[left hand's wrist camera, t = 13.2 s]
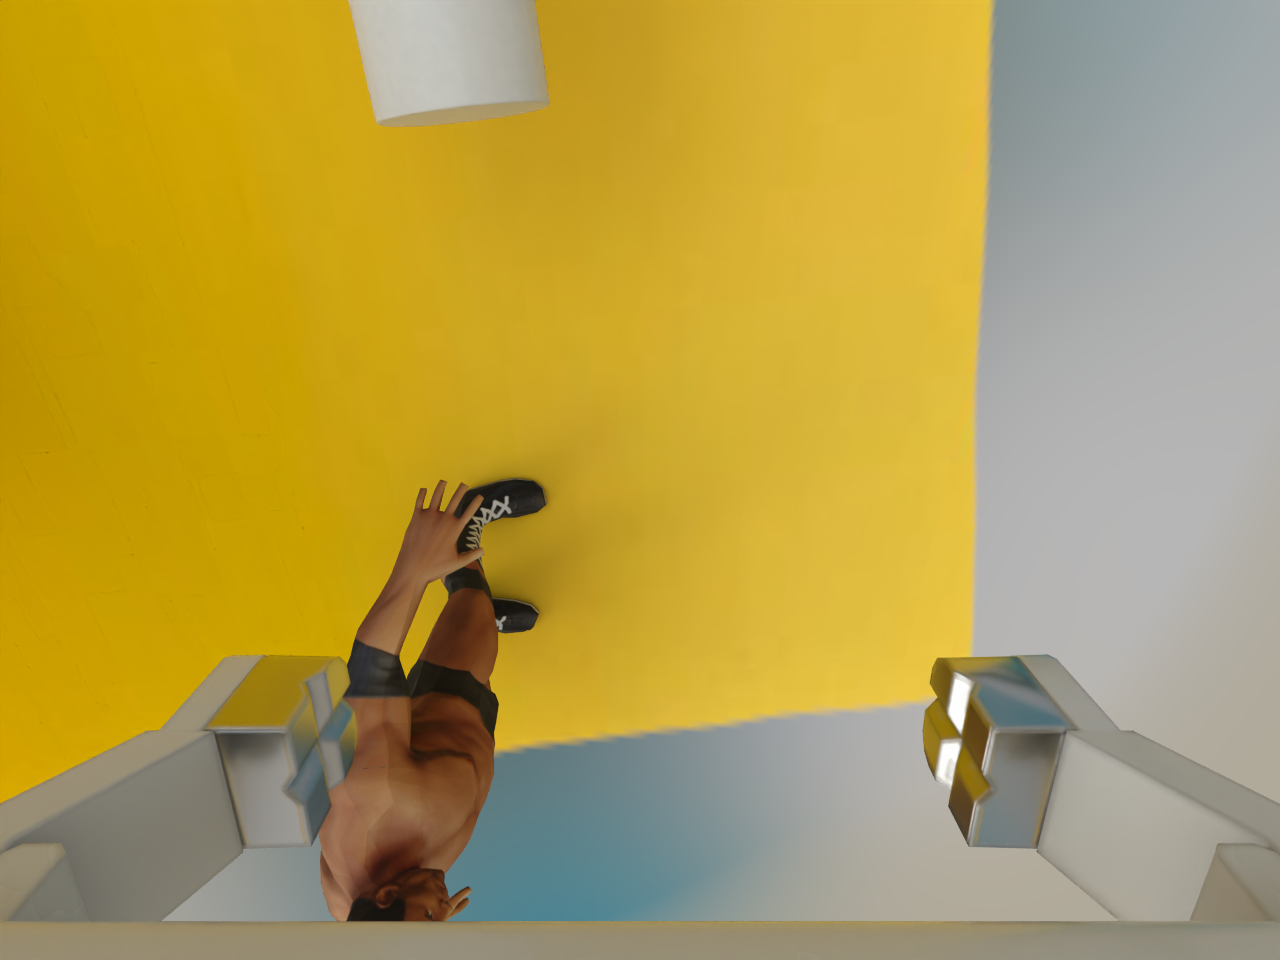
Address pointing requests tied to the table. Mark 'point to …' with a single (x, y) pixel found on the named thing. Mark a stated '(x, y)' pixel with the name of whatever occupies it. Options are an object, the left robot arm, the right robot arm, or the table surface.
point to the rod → (450, 59)
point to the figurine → (422, 717)
